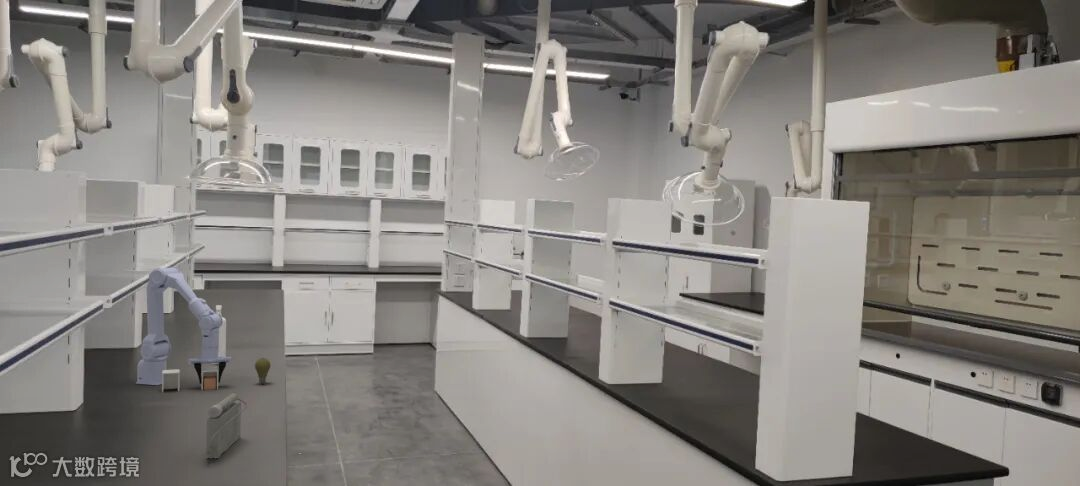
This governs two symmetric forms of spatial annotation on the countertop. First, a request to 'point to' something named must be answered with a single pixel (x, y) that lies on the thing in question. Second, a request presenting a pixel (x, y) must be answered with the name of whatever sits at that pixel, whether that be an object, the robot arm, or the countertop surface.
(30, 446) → the countertop surface
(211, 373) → the right cover
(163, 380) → the left cover
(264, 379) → the light bulb
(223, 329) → the white bottle
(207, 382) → the cube
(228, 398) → the geiger counter
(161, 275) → the robot arm
